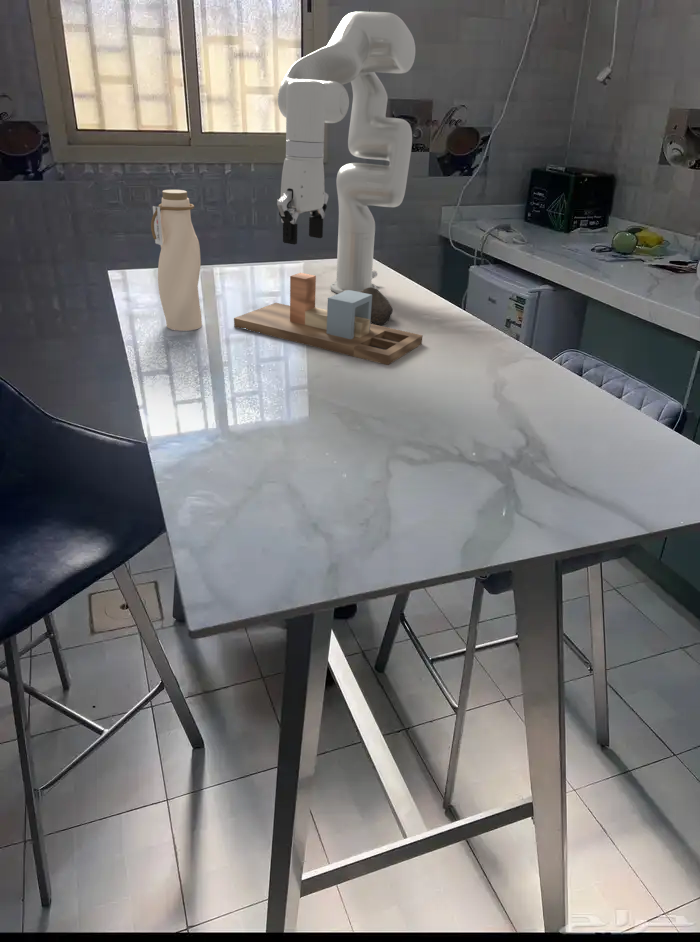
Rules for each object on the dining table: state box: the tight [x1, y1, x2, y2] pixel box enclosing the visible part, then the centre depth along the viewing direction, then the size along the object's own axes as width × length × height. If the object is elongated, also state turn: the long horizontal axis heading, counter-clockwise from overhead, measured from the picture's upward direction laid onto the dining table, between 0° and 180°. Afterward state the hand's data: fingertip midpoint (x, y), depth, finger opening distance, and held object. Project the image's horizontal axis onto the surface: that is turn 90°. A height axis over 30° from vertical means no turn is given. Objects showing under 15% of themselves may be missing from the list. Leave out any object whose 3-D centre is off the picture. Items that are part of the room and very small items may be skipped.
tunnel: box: [326, 290, 372, 339], centre depth 146 cm, size 8×6×8 cm
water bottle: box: [150, 189, 203, 332], centre depth 145 cm, size 10×9×28 cm
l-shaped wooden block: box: [289, 272, 371, 338], centre depth 148 cm, size 4×18×10 cm, turn 60°
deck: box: [233, 302, 423, 366], centre depth 151 cm, size 16×39×2 cm, turn 60°
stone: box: [361, 288, 393, 326], centre depth 163 cm, size 10×8×10 cm
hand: (303, 240), depth 144 cm, fingers open, 9 cm apart
